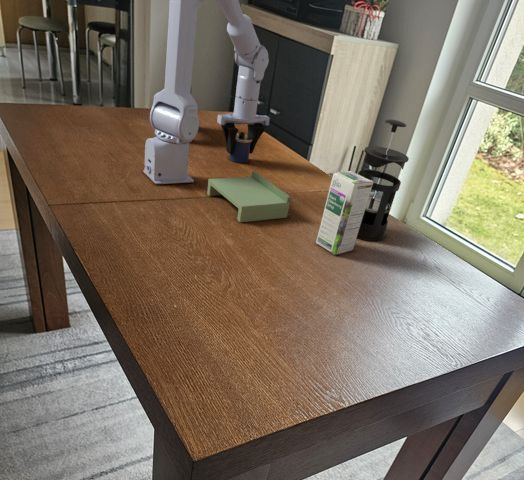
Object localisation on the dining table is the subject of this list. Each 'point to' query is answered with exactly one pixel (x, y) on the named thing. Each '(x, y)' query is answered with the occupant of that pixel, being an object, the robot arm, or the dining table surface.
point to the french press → (380, 187)
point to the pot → (241, 148)
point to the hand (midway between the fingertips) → (239, 152)
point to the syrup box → (343, 211)
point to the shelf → (252, 197)
